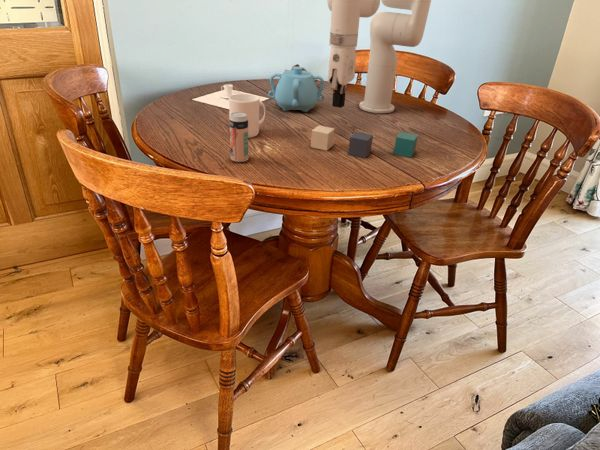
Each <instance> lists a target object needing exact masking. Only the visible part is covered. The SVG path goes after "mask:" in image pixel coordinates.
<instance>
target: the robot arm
mask: <svg viewBox="0 0 600 450" xmlns="http://www.w3.org/2000/svg"><path fill="white" fill-rule="evenodd" d="M326 3H327V7H328V9H329V11H330V12H331V15H330V29H329V30H330V32H329V43H328V44H329V45H328V46H330V54H329V61H328V70H327V71H328V72H327V73H328V74H327V81H328V84H330V85H331V87H330V90H331V91H332V100H331V101H332V104H331V106H332V107H334V108H335V107H336V108H341V109H342V108H343V107H344V106H345V104H346V103H345V101H346V93H347V92H346V91H347V87H348V86H347V85H348V84H350V82H352V81H353V80H354V79H355V77H356V76H355V75H356V60H357V57H356V56H357V55H356V54H357V49H356V48H357V47H358V40H359V39H358V38H359V29H360V28H359V27H360V19H361V18H371V20H370V24H369V36H370V37H369V39H370V44H369V46H370V47H369V58H368V65H367V66H368V67H367V73H366V81H365V91H364V98H363V101H360V102H359V104H358V107H359V109H360V110H362V111H364V112H368V113H373V114H390V113H393V112H394V111H395V105H394V104H392V98H393V92H394V86H395V78H396V71H397V66H398V65H397V64H398V54H397V52H396V49H395V47H394V46H401V47H409V48H414V47H417V46H419V45H420V43H421V42H422V40H423V37H424V33H425V29H426V24H427V20H428V16H429V12H430V8H431V3H432V0H327V1H326ZM381 3H382V5H383V6H384V7H387V8H391V9H399V10H406V11H411V14H409V13H401V12H395V11H394V12H392V11H380V12H378V10H379V8H380V5H381Z"/></svg>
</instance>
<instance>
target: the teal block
mask: <svg viewBox="0 0 600 450" xmlns="http://www.w3.org/2000/svg"><path fill="white" fill-rule="evenodd" d="M418 137H419V134H414V133H410V132H404V131H400V132H399V133H398V134H397V136H395V141H394V142H395V143H394V147H393V148H394V149H393V155H397V156H401V157H406V158H412V157H413V155H414V154H415V152H416V148H417V143H418Z"/></svg>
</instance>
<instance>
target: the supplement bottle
mask: <svg viewBox="0 0 600 450" xmlns="http://www.w3.org/2000/svg"><path fill="white" fill-rule="evenodd" d="M228 120H229V121H228V122H229V150H230V151H229V153H230V155H229V158H230V160H231V161H233V162H234V163H244V162H246V161H248V160H249V159H250V157H249V138H248V117H247V115H246V114H245V113H242V112H235V113H232V114H231V116H230V117H228Z"/></svg>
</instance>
